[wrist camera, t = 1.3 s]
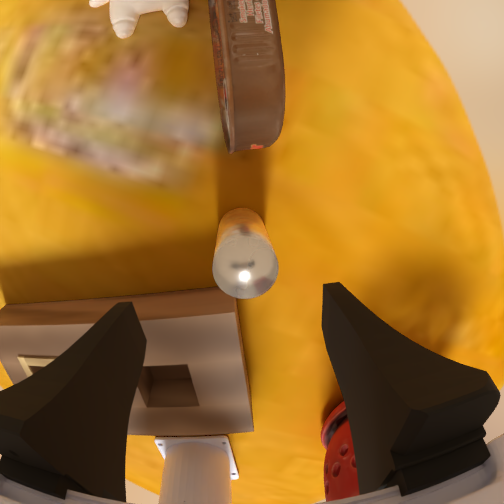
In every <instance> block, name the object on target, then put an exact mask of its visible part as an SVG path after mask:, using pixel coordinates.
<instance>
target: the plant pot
mask: <svg viewBox="0 0 504 504" xmlns="http://www.w3.org/2000/svg"><path fill="white" fill-rule="evenodd" d="M321 441H322V444H323V446H324V447H325V448H326V449H327V452H326V456H325V462H324V486H325V497H326V502H328V501H334V500H339V499H344V498H349V497H354V496H358V495H359V486H358V477H357V469H356V461H355V455H354V448H353V442H352V436H351V431H350V425H349V420H348V416H347V411H346V406H345V402H344V401H343V402H342V403H341V404H340V405H338V406H337V407H336V408H335V409H334V410H333V411H332V412H331V414H330V415H329V416H328V418H327V419H326V421H325V423H324V425H323V427H322V431H321Z"/></svg>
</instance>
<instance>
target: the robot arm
mask: <svg viewBox="0 0 504 504" xmlns="http://www.w3.org/2000/svg"><path fill="white" fill-rule="evenodd" d="M322 330H323V335H324V340H325V344H326V349H327V352H328V355H329V358H330V361H331V363H332V366H333V369H334V372H335V375H336V378H337V381H338V384H339V386H340V389H341V392H342V395H343V399H344V402H345V406H346V411H347V416H348V420H349V425H350V431H351V436H352V442H353V448H354V455H355V461H356V469H357V477H358V486H359V495H358V496H354V497H349V498H344V499H339V500H334V501H328V502H323V503H316V504H504V434H502V435H500V436H498V437H497V438H495V439H493V440H492V441H490V442H489V443H488V444H485V442H484V440H483V437H485V435H486V431H485V430H484V427H483V424H484V423H485V422H486V420H487V419H488V418H489V416H490V415H491V414H492V412H493V411H494V410H495V408H496V406H497V405H498V402H499V399H500V392H499V390H498V389H497V387H496V385H495V384H494V382H493V380H492V379H491V377H490V376H489V374H488V373H487V372H486V371H483V370H480V369H476V368H473V367H470V366H466V365H463V364H460V363H458V362H455V361H453V360H450V359H448V358H445V357H443V356H441V355H438V354H436V353H434V352H432V351H430V350H428V349H426V348H424V347H422V346H420V345H419V344H417V343H415V342H413V341H412V340H410V339H409V338H407V337H405V336H404V335H402V334H401V333H399V332H398V331H396V330H395V329H393V328H392V327H390V326H389V325H388V324H387V323H385V322H384V321H383V320H381V319H380V318H379V317H377V316H376V315H375V314H374V313H373V312H372V311H370V310H369V309H368V308H367V307H366V306H365V305H364V304H362V303H361V302H360V301H359V300H358V299H357V298H356V297H355V296H354V295H353V294H352V293H351V292H349V291H348V290H347V289H346V288H345V287H344V286H343V285H342V284H341V283H340V282H336V283H328V284H323V305H322ZM146 344H147V339H146V337H145V334H144V332H143V329H142V327H141V324H140V321H139V319H138V316H137V314H136V311H135V308H134V306H133V303H132V301H131V302H118V303H117V304H116V305H114V306H113V307H112V308H111V309H110V310H109V311H108V312H107V313H106V314H104V315H103V316H102V317H101V318H100V319H99V320H98V321H97V322H96V323H95V324H94V325H93V326H92V327H91V328H90V329H89V330H88V331H87V332H86V333H85V334H84V335H83V336H81V337H80V338H79V339H78V340H77V341H76V342H75V343H74V344H73V345H71V346H70V347H69V348H68V349H67V350H66V351H65V352H63V353H62V354H61V355H60V356H58V357H57V358H56V359H54V360H53V361H52V362H50V363H49V364H48V365H46V366H45V367H43V368H42V369H40V370H39V371H37V372H35V373H34V374H32V375H31V376H29V377H28V378H26V379H24V380H22V381H20V382H19V383H17V384H15V385H13V386H11V387H9V388H7V389H4V390H2V391H0V454H1V455H2V457H1V459H0V504H132V503H126V490H125V456H126V442H127V432H128V424H129V417H130V412H131V408H132V404H133V400H134V396H135V393H136V389H137V386H138V382H139V379H140V375H141V371H142V368H143V364H144V359H145V352H146ZM154 441H155V443H156V445H157V447H158V449H159V451H160V452H161V454H162V456H163V458H164V460H165V462H164V469H163V476H162V483H161V490H160V497H159V504H232V501H231V480H232V479H238V478H239V474H238V470H237V467H236V464H235V460H234V457H233V453H232V450H231V446H230V443H229V439H228V437H227V436H225V435H221V436H201V437H156V438H155V440H154Z"/></svg>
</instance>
